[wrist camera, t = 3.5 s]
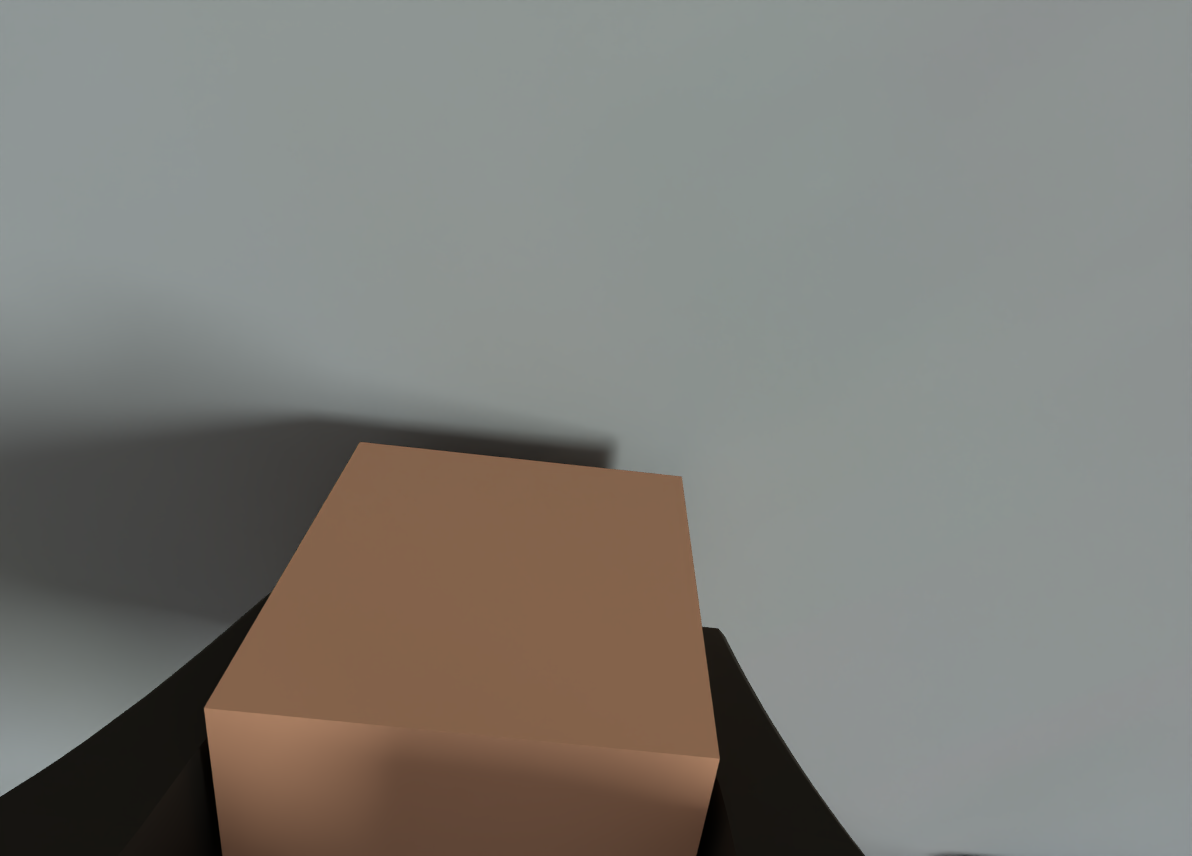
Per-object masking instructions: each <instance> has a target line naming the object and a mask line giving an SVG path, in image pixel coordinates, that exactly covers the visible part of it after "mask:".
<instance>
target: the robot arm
mask: <svg viewBox="0 0 1192 856" xmlns="http://www.w3.org/2000/svg"><path fill="white" fill-rule="evenodd" d="M271 593H272V592H271ZM271 593H269V594H268V595H267V596H266V597H265V598H263V599H262V600H261V601H260V602H259V603H257V604H256V605H255V606H254V607H253V608H252V609H251V610H249V611H248V612H247V613H246V614H245V615H244V616H242V617H241V618H240V619H239V620H238V621H237V622H235V623H234V624H233V625H232V626H231V627H230V628H228V629H227V630H226V631H225V632H224V633H223V634H221V635H220V636H219V637H218V638H217V639H215V640H214V641H213V642H212V643H211V644H210V645H208V646H207V647H206V648H205V649H204V650H202V651H201V652H200V653H199V654H198V655H196V656H195V657H194V658H193V659H191V660H190V661H189V662H188V663H186V664H185V665H184V666H183V667H181V668H180V669H179V670H178V671H177V672H175V673H174V674H173V675H172V676H170V677H169V678H168V679H167V680H165V681H164V682H163V683H162V684H160V685H159V686H158V687H157V688H155V689H154V690H153V691H152V692H150V693H149V694H148V695H147V696H145V697H144V698H143V699H141V700H140V701H139V702H137V703H136V704H135V705H133V706H132V707H131V708H129V709H128V710H126V711H125V712H124V713H122V714H121V715H120V716H118V717H117V718H116V719H114V720H113V721H112V722H110V723H109V724H108V725H106V726H105V727H104V728H102V729H101V730H99V731H98V732H97V733H95V734H94V735H93V736H91V737H90V738H89V739H87V740H86V741H84V742H83V743H82V744H80V745H79V746H77V747H76V748H74V749H73V750H71V751H70V752H69V753H67V754H66V755H64V756H63V757H61V758H60V759H58V760H57V761H55V762H54V763H52V764H51V765H49V766H48V767H46V768H45V769H43V770H42V771H40V772H39V773H37V774H36V775H34V776H33V777H31V778H29V779H28V780H26V781H25V782H23V783H21V784H20V785H18V786H17V787H15V788H14V789H12V790H10V791H9V792H7V793H6V794H4V795H2V796H1V797H0V856H222V848H221V840H220V832H219V824H218V816H217V808H216V800H215V792H214V784H213V776H212V768H211V760H210V752H209V744H208V736H207V729H206V721H205V713H204V707H205V705H206V704H207V702H208V700H209V699H210V697H211V695H212V694H213V692H214V690H215V688H216V687H217V685H218V683H219V682H220V680H221V678H222V676H223V675H224V673H225V671H226V670H227V668H228V666H229V665H230V663H231V661H232V659H233V658H234V656H235V654H236V653H237V651H238V649H239V647H240V646H241V644H242V642H243V641H244V639H245V637H246V635H247V634H248V632H249V630H250V629H251V627H252V625H253V624H254V622H255V620H256V618H257V617H258V615H259V613H260V612H261V610H262V608H263V606H264V605H265V603H266V601H267V600H268V598H269V596H270V595H271ZM702 631H703V638H704V646H705V653H706V660H707V668H708V675H709V682H710V690H711V697H712V705H713V712H714V719H715V727H716V734H717V741H718V749H719V756H720V760H719V764H718V768H717V773H716V777H715V781H714V785H713V789H712V793H711V797H710V801H709V806H708V810H707V814H706V818H705V822H704V826H703V830H702V834H701V838H700V843H699V847H698V851H697V855H696V856H865V855H864V854H863V852H862V851H861V850H860V849H859V847H858V846H857V845H856V843H855V842H854V841H853V840H852V838H851V837H850V836H849V834H848V833H847V832H846V830H845V829H844V828H843V826H842V825H841V824H840V822H839V821H838V820H837V818H836V817H835V816H834V814H833V813H832V811H831V810H830V809H829V807H828V806H827V804H826V803H825V802H824V800H823V799H822V797H821V796H820V795H819V793H818V792H817V790H816V789H815V788H814V786H813V785H812V783H811V782H810V780H809V779H808V777H807V776H806V774H805V773H804V771H803V770H802V768H801V767H800V765H799V764H798V762H797V761H796V759H795V758H794V756H793V755H792V753H791V751H790V750H789V748H788V747H787V745H786V743H785V742H784V740H783V739H782V737H781V736H780V734H779V732H778V731H777V729H776V728H775V726H774V725H773V723H772V721H771V720H770V718H769V716H768V715H767V713H766V711H765V710H764V708H763V706H762V704H761V703H760V701H759V699H758V697H757V696H756V694H755V692H754V690H753V689H752V687H751V685H750V683H749V682H748V680H747V678H746V676H745V674H744V672H743V671H742V669H741V667H740V665H739V663H738V661H737V659H736V657H735V655H734V653H733V652H732V650H731V648H730V646H729V644H728V642H727V640H726V638H725V636H724V635H723V634H722V632H721V631H720V630H719V629H718V628H708V627H702Z"/></svg>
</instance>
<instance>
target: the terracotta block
mask: <svg viewBox="0 0 1192 856" xmlns="http://www.w3.org/2000/svg"><path fill="white" fill-rule="evenodd" d="M204 713H205V721H206V729H207V736H208V744H209V752H210V760H211V768H212V776H213V784H214V792H215V800H216V808H217V816H218V824H219V832H220V840H221V848H222V856H696V855H697V851H698V847H699V843H700V838H701V834H702V830H703V826H704V822H705V818H706V814H707V810H708V806H709V801H710V797H711V793H712V789H713V785H714V781H715V777H716V773H717V768H718V764H719V760H720V756H719V749H718V741H717V734H716V727H715V719H714V712H713V705H712V697H711V690H710V682H709V675H708V668H707V660H706V653H705V646H704V638H703V631H702V623H701V616H700V609H699V601H698V594H697V586H696V579H695V572H694V564H693V557H692V550H691V542H690V535H689V527H688V520H687V513H686V505H685V498H684V491H683V483H682V477H681V476H672V475H662V474H653V473H644V472H634V471H625V470H616V469H606V468H597V467H588V466H579V465H569V464H560V463H551V462H541V461H532V460H523V459H514V458H504V457H495V456H486V455H476V454H467V453H458V452H449V451H439V450H430V449H421V448H411V447H402V446H393V445H384V444H374V443H365V442H360V443H359V444H358V446H357V448H356V449H355V451H354V453H353V455H352V456H351V458H350V460H349V461H348V463H347V465H346V467H345V468H344V470H343V472H342V473H341V475H340V477H339V479H338V480H337V482H336V484H335V485H334V487H333V489H332V490H331V492H330V494H329V496H328V497H327V499H326V501H325V502H324V504H323V506H322V508H321V509H320V511H319V513H318V514H317V516H316V518H315V519H314V521H313V523H312V525H311V526H310V528H309V530H308V531H307V533H306V535H305V537H304V538H303V540H302V542H301V543H300V545H299V547H298V548H297V550H296V552H295V554H294V555H293V557H292V559H291V560H290V562H289V564H288V566H287V567H286V569H285V571H284V572H283V574H282V576H281V577H280V579H279V581H278V583H277V584H276V586H275V588H274V589H273V591H272V593H271V595H270V596H269V598H268V600H267V601H266V603H265V605H264V606H263V608H262V610H261V612H260V613H259V615H258V617H257V618H256V620H255V622H254V624H253V625H252V627H251V629H250V630H249V632H248V634H247V635H246V637H245V639H244V641H243V642H242V644H241V646H240V647H239V649H238V651H237V653H236V654H235V656H234V658H233V659H232V661H231V663H230V665H229V666H228V668H227V670H226V671H225V673H224V675H223V676H222V678H221V680H220V682H219V683H218V685H217V687H216V688H215V690H214V692H213V694H212V695H211V697H210V699H209V700H208V702H207V704H206V705H205V707H204Z"/></svg>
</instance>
